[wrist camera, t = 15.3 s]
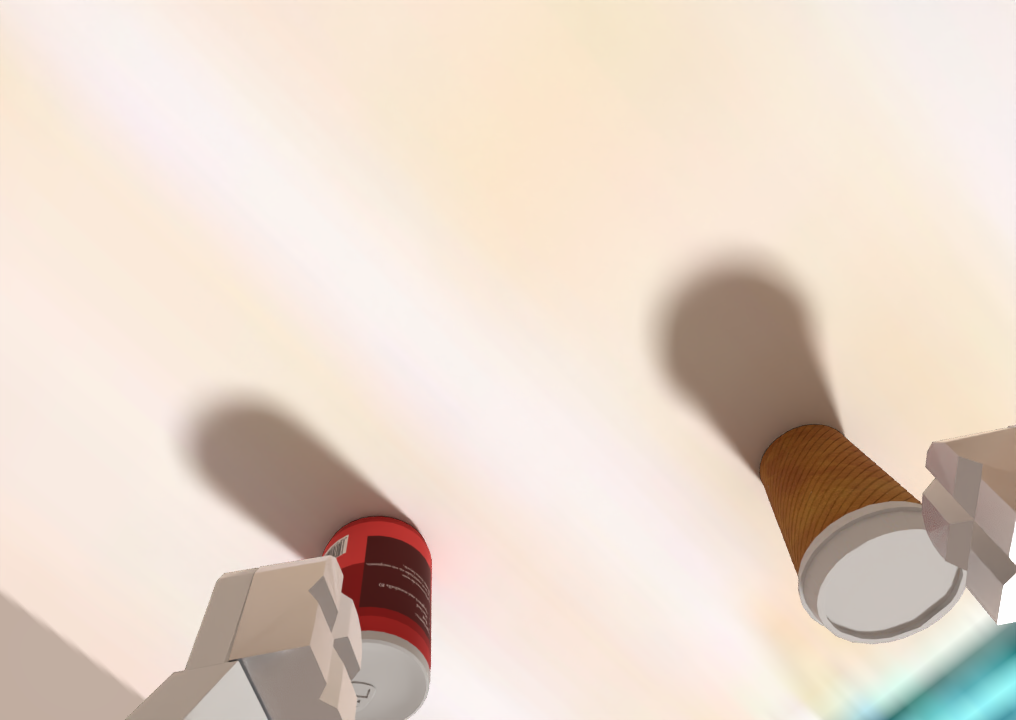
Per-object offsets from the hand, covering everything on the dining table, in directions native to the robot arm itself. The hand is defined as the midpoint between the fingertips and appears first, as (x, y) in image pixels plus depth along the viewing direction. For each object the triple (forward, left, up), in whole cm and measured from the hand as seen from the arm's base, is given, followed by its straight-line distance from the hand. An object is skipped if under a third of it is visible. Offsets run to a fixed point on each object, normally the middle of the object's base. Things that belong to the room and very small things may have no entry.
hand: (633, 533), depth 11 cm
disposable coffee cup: (+27, -18, -34) cm, 47 cm away
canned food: (0, -32, -34) cm, 47 cm away
